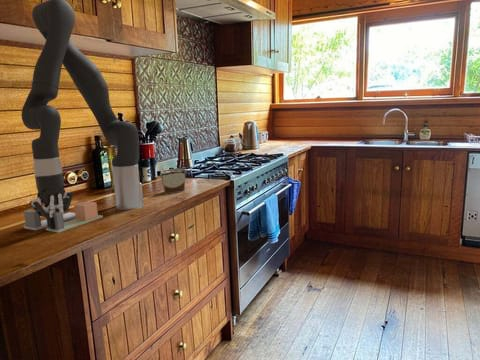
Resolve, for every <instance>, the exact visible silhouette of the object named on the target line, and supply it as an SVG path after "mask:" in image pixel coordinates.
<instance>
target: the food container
mask: <svg viewBox="0 0 480 360" xmlns="http://www.w3.org/2000/svg"><path fill="white" fill-rule="evenodd" d="M186 174H187V170H186V168H169V169H167V168H166V169H163V170H161V171H160V174H159V177H160V178H161V182H162V187H163V192H164V195H167V194H168V195H169V194H173V193H181V192H185V190H186V189H185V188H186Z"/></svg>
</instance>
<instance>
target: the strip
mask: <svg viewBox="0 0 480 360" xmlns="http://www.w3.org/2000/svg"><path fill="white" fill-rule="evenodd" d="M23 214H24V215H23V216H24V222H25V225H24V226H23V229H27V230H31V231H39V230H41V229H46V228H48V226H47V219H46V218H45V219H44V220H41V216H39V215H38V213H37V212H36V211H35V210H34V209H26V210H23ZM63 218H64V222H67V221H70V220H73V219H76V217H75V212H70V211H69V212H65V213H63Z"/></svg>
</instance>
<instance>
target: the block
mask: <svg viewBox="0 0 480 360" xmlns="http://www.w3.org/2000/svg"><path fill="white" fill-rule="evenodd" d="M73 207H74V213H75V217H76V218H75V219H78V220H84V221H87V220H90V219H93V218H96V217H98V215H99V213H98V205H97V202H96V201H89V200H86V201H83V202H78V203H75V204H73Z"/></svg>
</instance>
